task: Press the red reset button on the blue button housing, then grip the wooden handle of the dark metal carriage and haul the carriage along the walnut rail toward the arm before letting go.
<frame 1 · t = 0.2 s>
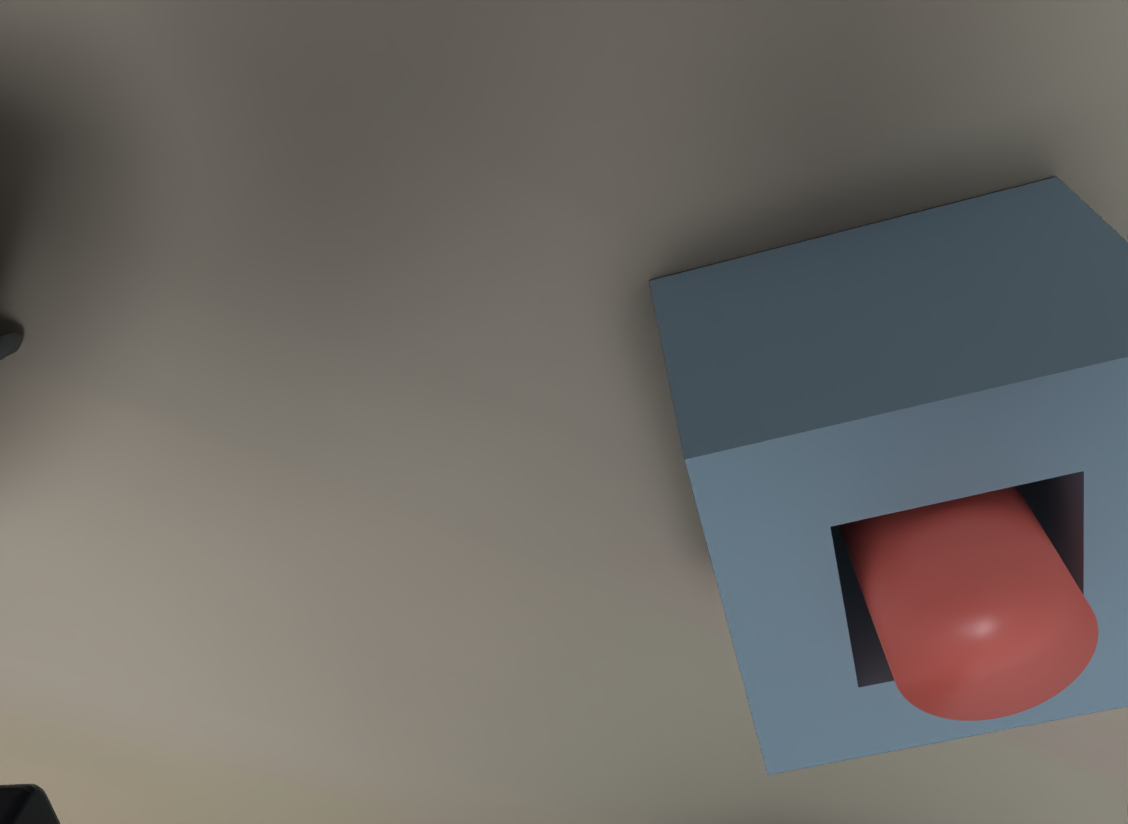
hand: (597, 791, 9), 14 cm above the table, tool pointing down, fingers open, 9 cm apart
blue button housing: (869, 394, 23), on the table
reset button: (943, 548, 19), point 5 cm above the table, slide at 0.0 cm
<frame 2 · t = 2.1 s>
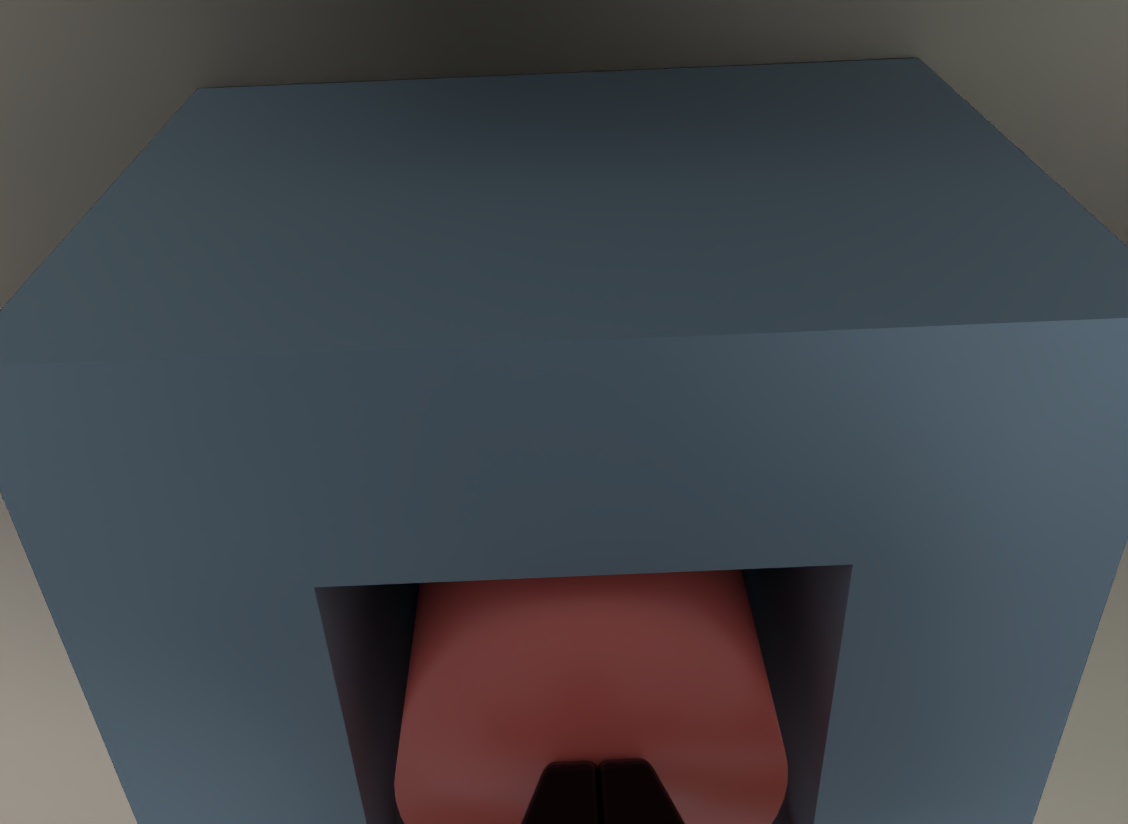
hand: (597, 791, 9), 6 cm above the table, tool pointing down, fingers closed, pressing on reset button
blue button housing: (569, 380, 14), on the table
reset button: (580, 581, 11), point 4 cm above the table, slide at 1.1 cm, touching gripper
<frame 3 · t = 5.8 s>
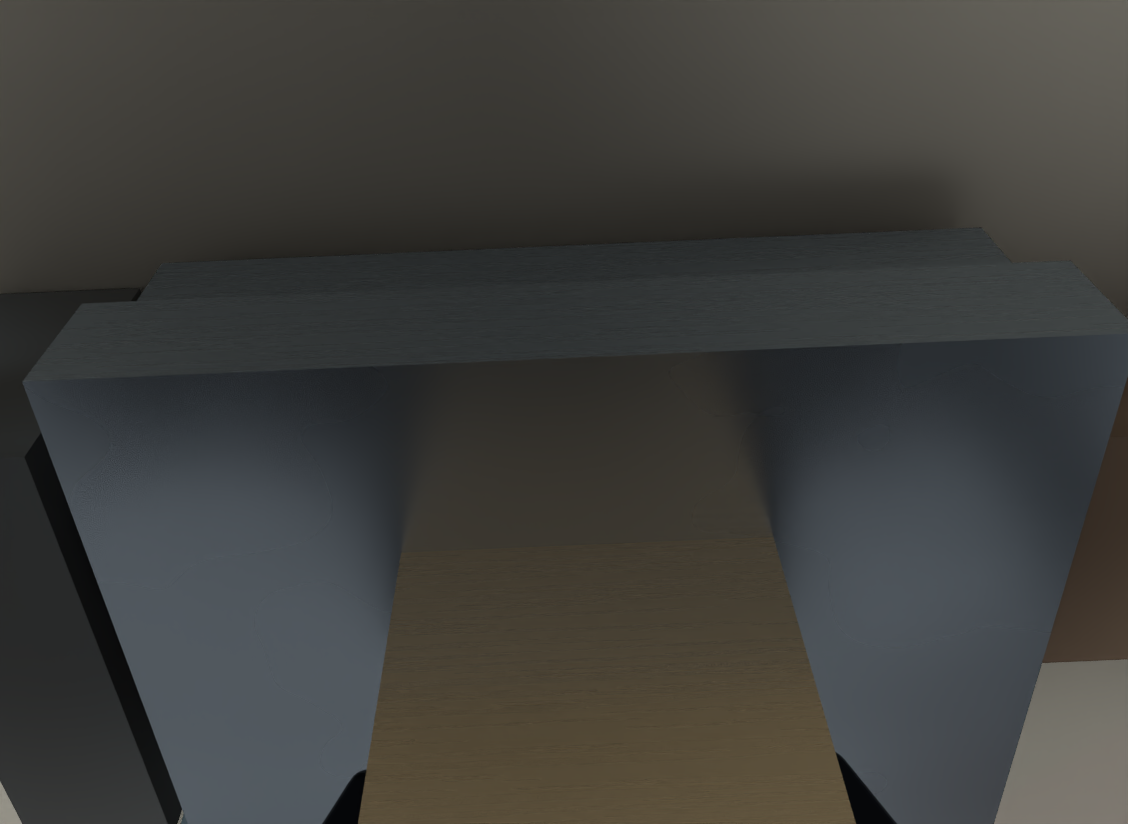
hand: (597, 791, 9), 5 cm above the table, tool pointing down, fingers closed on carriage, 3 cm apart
carriage: (597, 788, 9), point 5 cm above the table, slide at 0.0 cm, touching gripper
rail: (1005, 444, 12), on the table
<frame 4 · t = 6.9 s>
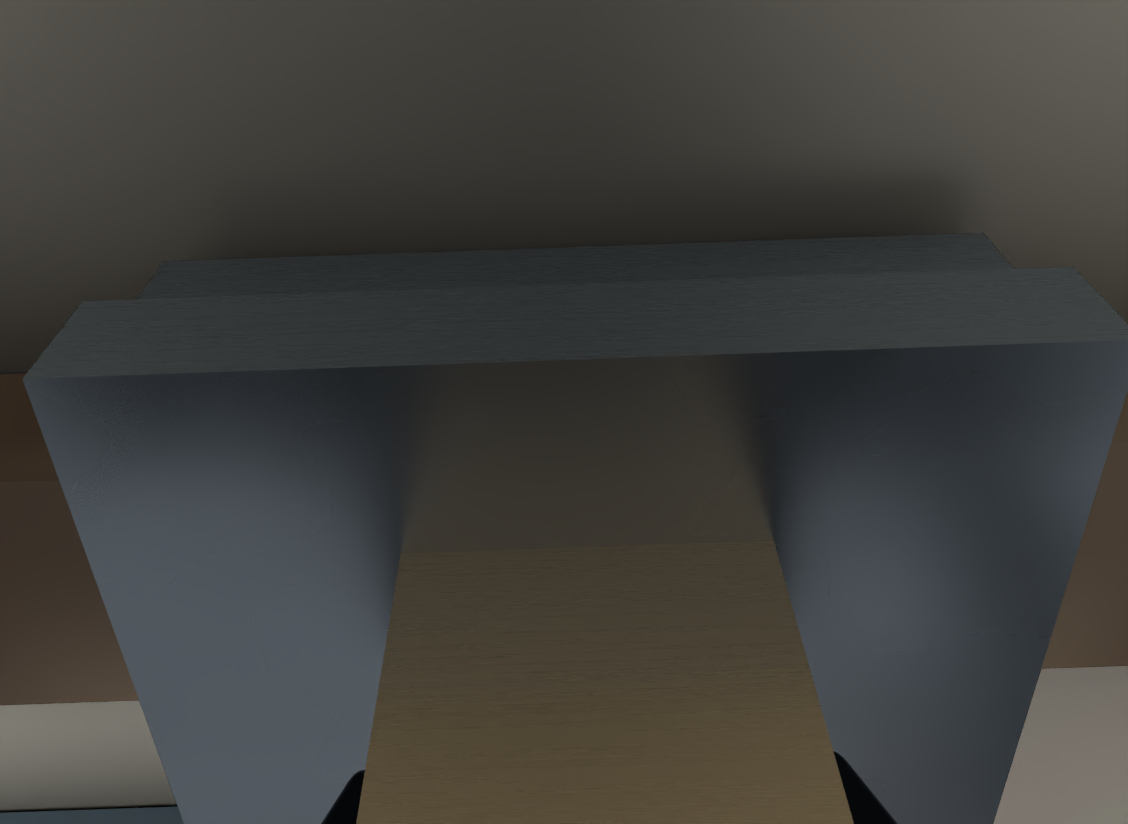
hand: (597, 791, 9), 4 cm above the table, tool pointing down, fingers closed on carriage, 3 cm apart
carriage: (595, 791, 9), point 4 cm above the table, slide at 3.7 cm, touching gripper
rail: (694, 460, 12), on the table
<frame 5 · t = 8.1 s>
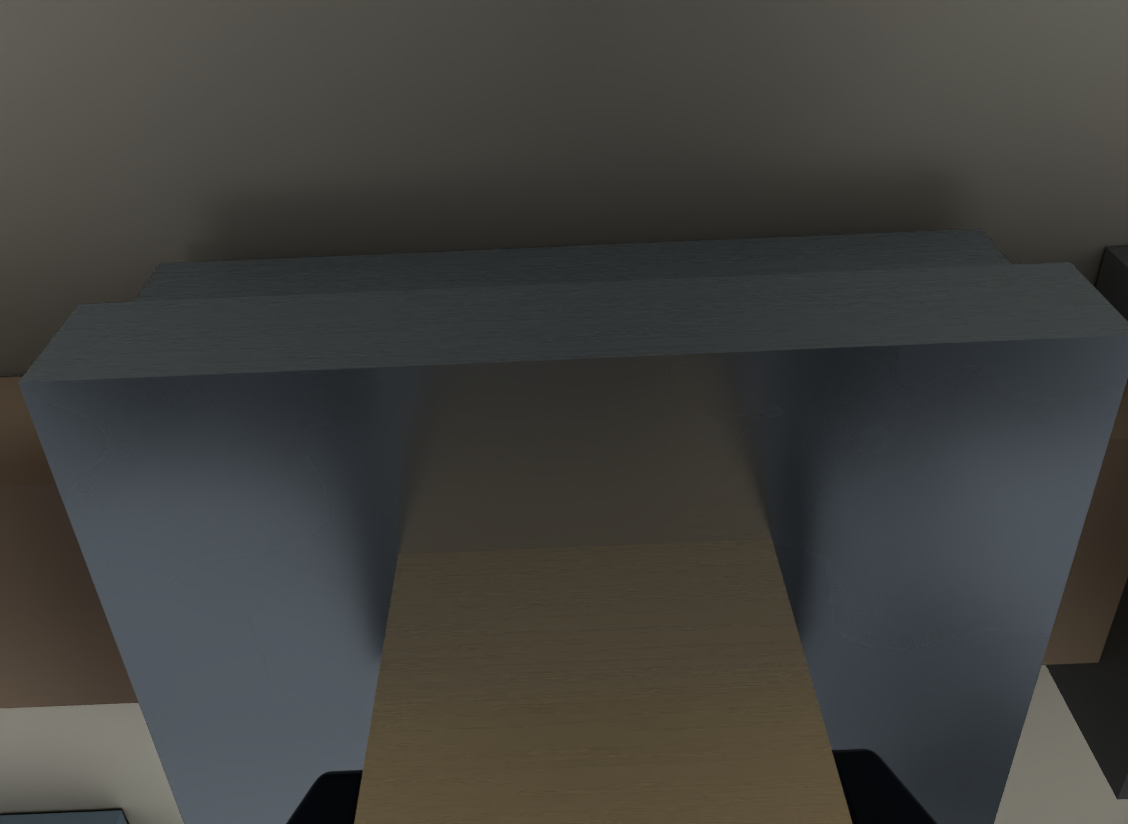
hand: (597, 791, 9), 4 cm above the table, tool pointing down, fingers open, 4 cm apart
carriage: (595, 790, 9), point 4 cm above the table, slide at 8.9 cm
rail: (241, 478, 12), on the table
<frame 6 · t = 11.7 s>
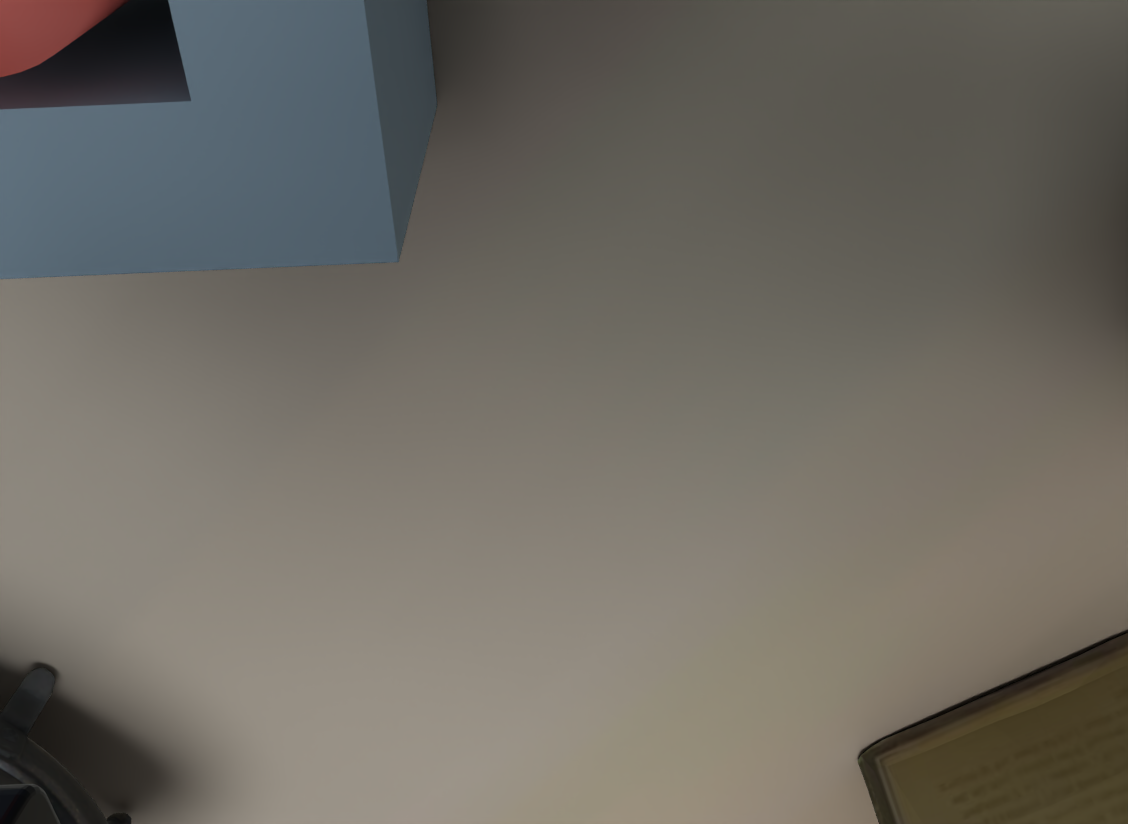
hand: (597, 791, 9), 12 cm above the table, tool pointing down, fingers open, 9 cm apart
food packaging: (1102, 810, 29), on the table
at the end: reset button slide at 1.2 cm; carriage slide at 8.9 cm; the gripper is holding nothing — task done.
